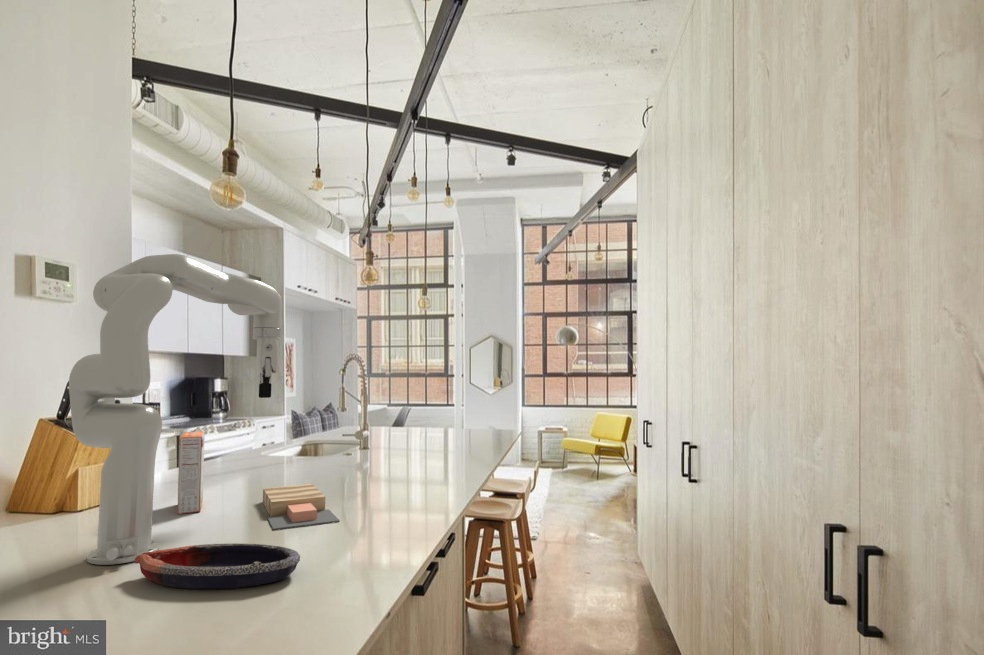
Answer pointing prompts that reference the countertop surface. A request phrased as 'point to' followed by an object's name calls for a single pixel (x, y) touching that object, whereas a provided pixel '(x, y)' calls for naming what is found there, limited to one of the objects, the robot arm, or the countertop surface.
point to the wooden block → (291, 498)
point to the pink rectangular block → (301, 512)
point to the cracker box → (190, 472)
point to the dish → (218, 565)
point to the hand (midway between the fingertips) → (264, 397)
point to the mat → (286, 522)
